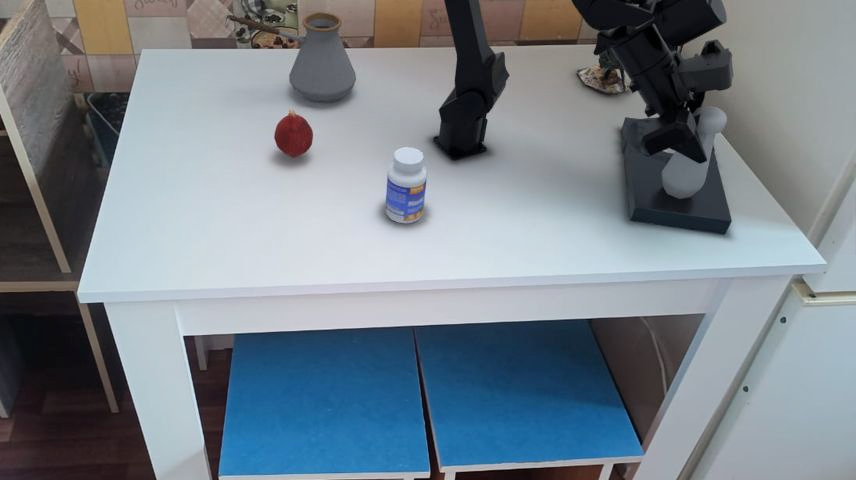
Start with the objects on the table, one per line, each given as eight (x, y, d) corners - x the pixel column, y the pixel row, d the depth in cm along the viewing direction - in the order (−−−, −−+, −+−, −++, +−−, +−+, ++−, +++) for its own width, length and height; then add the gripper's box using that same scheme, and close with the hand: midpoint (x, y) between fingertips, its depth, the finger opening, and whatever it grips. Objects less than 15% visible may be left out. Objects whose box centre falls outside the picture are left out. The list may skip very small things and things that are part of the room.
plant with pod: (592, 102, 127) (624, -12, 113) (572, 70, 135) (600, -41, 121) (637, 101, 127) (675, -13, 113) (614, 69, 135) (647, -41, 121)
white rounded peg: (691, 208, 102) (728, 129, 93) (651, 192, 105) (684, 113, 95) (703, 187, 106) (740, 109, 97) (664, 172, 108) (697, 95, 99)
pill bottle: (411, 229, 101) (417, 172, 95) (377, 215, 103) (381, 158, 97) (429, 209, 105) (436, 152, 98) (396, 195, 107) (401, 139, 100)
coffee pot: (348, 73, 132) (349, -10, 121) (362, 106, 124) (365, 21, 114) (229, 83, 128) (220, -1, 118) (236, 118, 121) (226, 31, 110)
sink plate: (726, 234, 102) (733, 221, 101) (628, 220, 104) (634, 207, 102) (702, 136, 120) (708, 123, 118) (619, 125, 122) (623, 112, 120)
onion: (319, 151, 114) (319, 106, 109) (302, 171, 111) (301, 125, 105) (287, 142, 116) (284, 97, 110) (269, 161, 112) (265, 115, 107)
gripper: (701, 63, 84) (763, 168, 88) (716, 1, 96) (770, 96, 101) (613, 106, 92) (674, 201, 96) (637, 44, 104) (691, 130, 108)
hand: (705, 154), depth 100 cm, fingers closed on white rounded peg, 3 cm apart
